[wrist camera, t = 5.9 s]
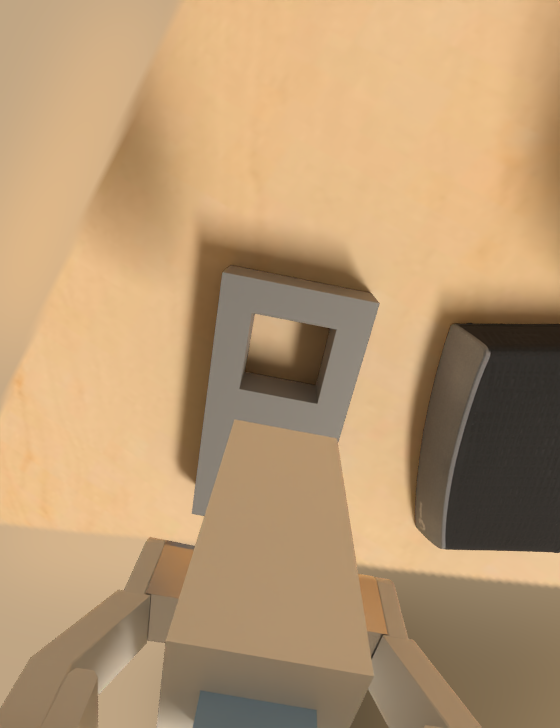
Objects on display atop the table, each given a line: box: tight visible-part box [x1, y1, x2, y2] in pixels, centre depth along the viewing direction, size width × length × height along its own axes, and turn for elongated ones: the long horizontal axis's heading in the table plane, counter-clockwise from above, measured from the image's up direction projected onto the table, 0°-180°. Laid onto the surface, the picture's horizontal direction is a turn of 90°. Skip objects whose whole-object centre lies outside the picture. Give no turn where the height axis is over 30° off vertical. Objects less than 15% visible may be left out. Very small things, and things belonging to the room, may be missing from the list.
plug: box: [157, 420, 374, 728], centre depth 11 cm, size 4×4×9 cm
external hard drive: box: [415, 323, 560, 553], centre depth 29 cm, size 13×19×4 cm
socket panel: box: [192, 265, 380, 516], centre depth 29 cm, size 20×10×3 cm, turn 169°
